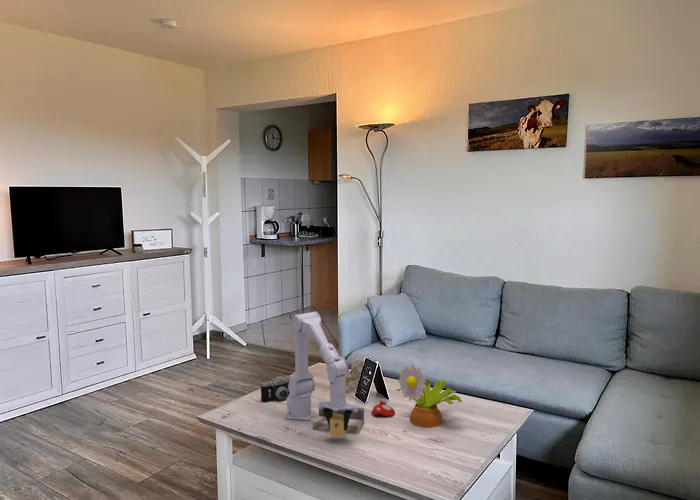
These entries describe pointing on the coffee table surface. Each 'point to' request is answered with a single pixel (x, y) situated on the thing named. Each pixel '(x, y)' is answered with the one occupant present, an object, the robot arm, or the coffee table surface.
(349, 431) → the board
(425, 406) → the decorative plant
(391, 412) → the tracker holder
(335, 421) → the cabinet block
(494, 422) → the coffee table surface
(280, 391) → the camera
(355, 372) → the rough stone chunk
